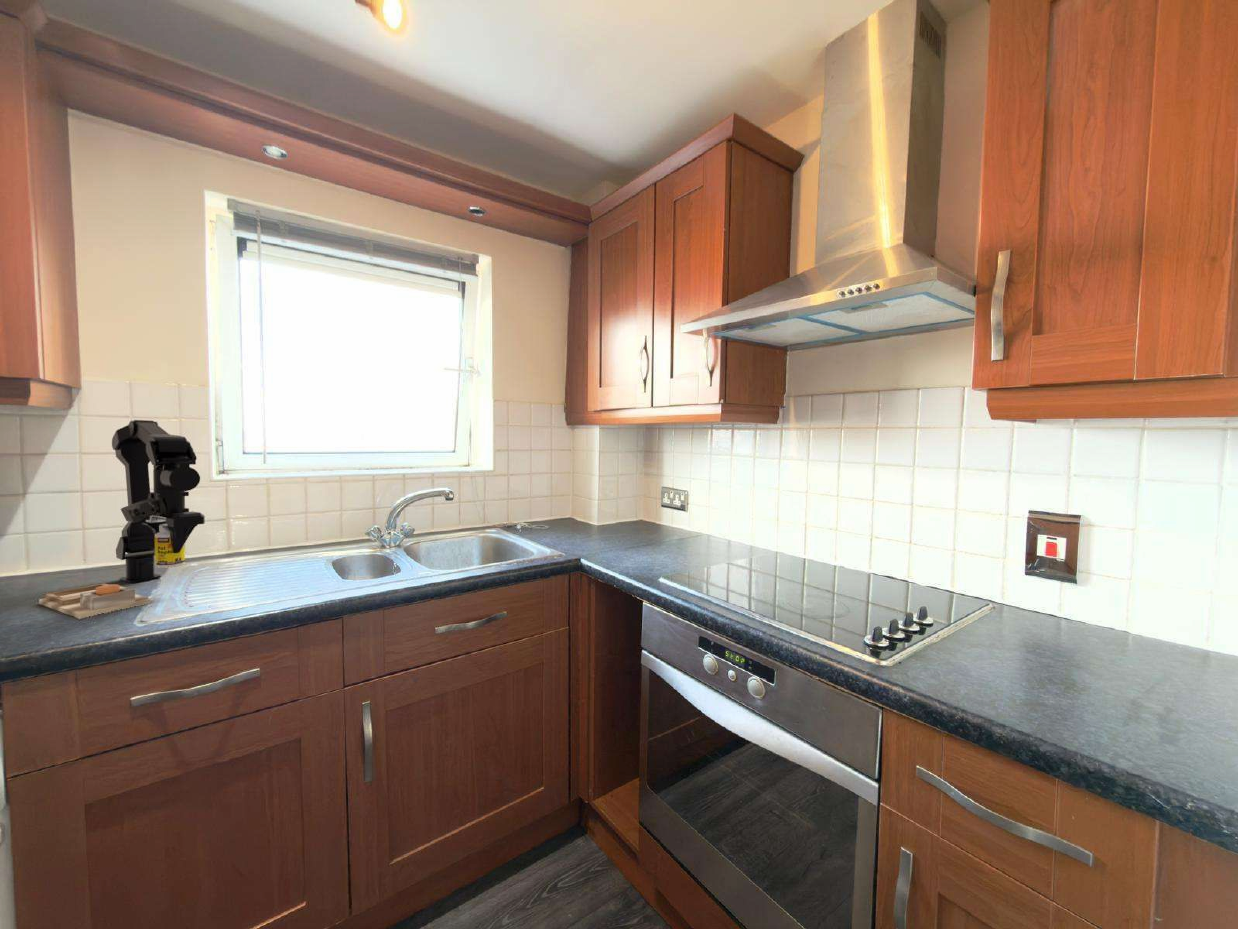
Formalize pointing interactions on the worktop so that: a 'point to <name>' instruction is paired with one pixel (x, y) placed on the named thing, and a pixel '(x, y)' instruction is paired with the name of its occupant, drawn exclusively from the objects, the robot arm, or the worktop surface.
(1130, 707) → the worktop surface
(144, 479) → the robot arm
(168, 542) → the supplement bottle
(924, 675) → the worktop surface
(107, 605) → the pallet
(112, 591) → the button
